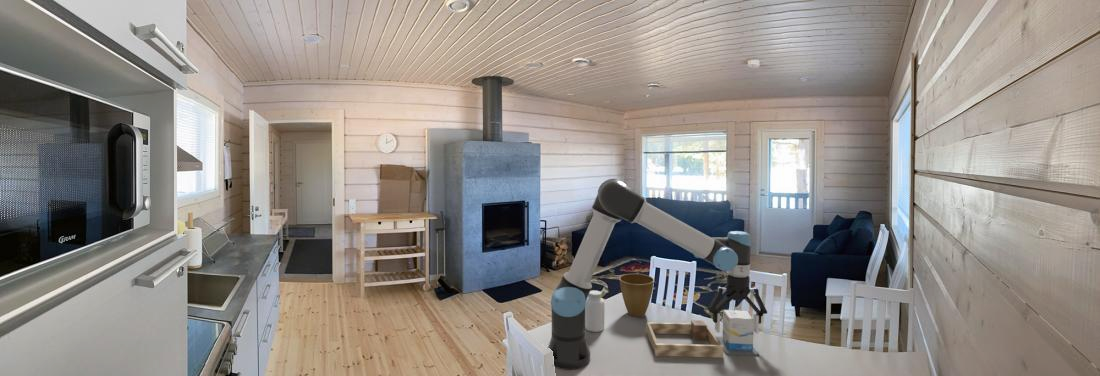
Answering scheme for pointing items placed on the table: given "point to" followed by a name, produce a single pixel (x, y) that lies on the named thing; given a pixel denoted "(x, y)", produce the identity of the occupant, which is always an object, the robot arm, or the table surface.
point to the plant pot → (636, 293)
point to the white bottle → (594, 312)
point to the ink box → (738, 330)
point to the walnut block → (698, 330)
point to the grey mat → (736, 352)
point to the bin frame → (682, 349)
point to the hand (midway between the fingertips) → (736, 331)
